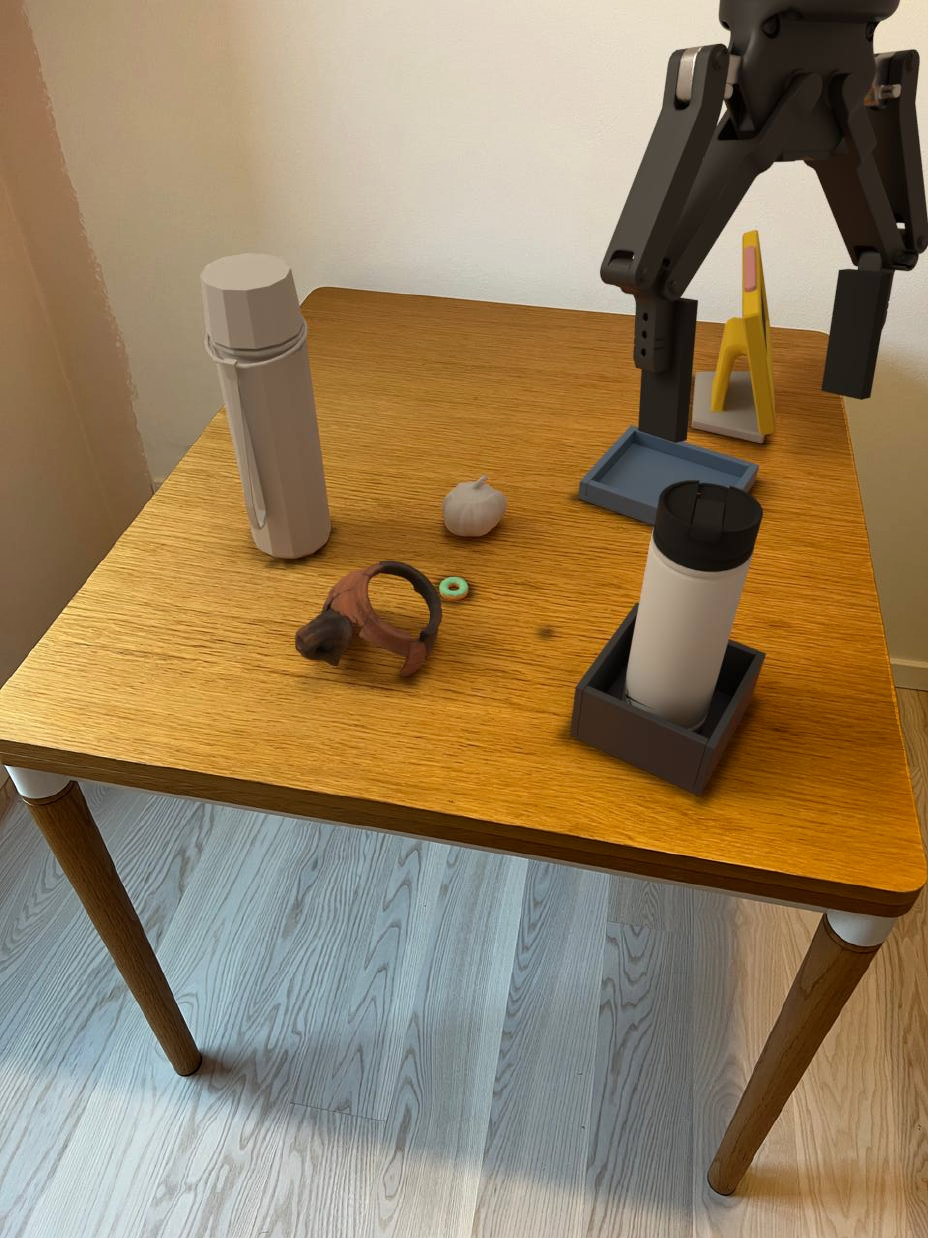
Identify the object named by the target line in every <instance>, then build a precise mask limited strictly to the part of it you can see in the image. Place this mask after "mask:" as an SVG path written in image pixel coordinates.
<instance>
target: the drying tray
mask: <svg viewBox="0 0 928 1238" xmlns="http://www.w3.org/2000/svg"><path fill="white" fill-rule="evenodd" d="M759 469H760V465H759V464H757V463H754V462H751V461H747V460H744V459H742V458H738V457H735V456H731V455H728V454H725V453H721V452H719V451H715V450H713V449H709V448H706V447H703V446H700V445H696V444H694V443H690V442H687V441H682V442H677V443H674V442H671V441H668V440H664V439H661V438H658V437H655V436H652V435H649V434H646V433H643V432H640V431H638V426H636V425H632V424H631V425H629V427H628V428H627V429H626V430H625V431H624V432H623V433H622V435H621V436H619V437H618V438H617V440H616V441H615V442H614V443H613V444H612V445H611V446H610V447H609V449H607V450H606V451H605V453H604V454H603V455H602V456H601V457H600V459H598V460H597V461H596V462H595V464H594V465H593V466H592V467H591V468H590V469H589V471H587V473H586V474H585V475H584V476H583V477H582V478H581V479H580V480H579V487H578V496H577V498H578V500H581V501H584V502H586V503H588V504H589V503H590V504H593V505H595V506H598V507H601V508H603V509H607V510H608V511H612V512H614V513H618V514H620V515H623V516H625V517H629V518H632V519H635V520H637V521H640V522H643V523H645V524H648V525H651V526H654V523H655V518H656V512H657V507H658V501H659V496H660V494H661V492H662V491H663V490H664V489H665V488H666V487H668V486H670V485H671V484H674V483H677V482H681V481H686V480H700V482H699V483H711V484H717V485H722V486H725V487H727V488H729V487H730V486H733V487H736V488H739V489H742V490H744V491H745V492H747V493H749V492H750V491H751V489H752V488H753V486H754V485H755V484H756V480H757V477H758V472H759Z"/></svg>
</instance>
